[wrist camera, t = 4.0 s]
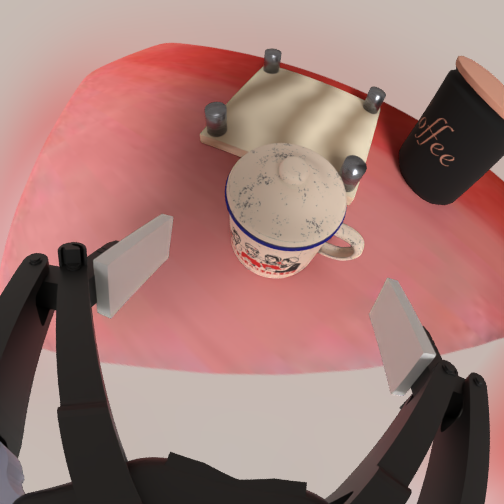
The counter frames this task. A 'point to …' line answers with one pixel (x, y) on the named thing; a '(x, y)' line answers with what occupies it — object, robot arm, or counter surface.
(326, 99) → the birch board
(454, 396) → the robot arm
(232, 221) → the teacup with lid
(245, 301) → the counter surface
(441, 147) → the coffee jar
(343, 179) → the set of grey pegs
